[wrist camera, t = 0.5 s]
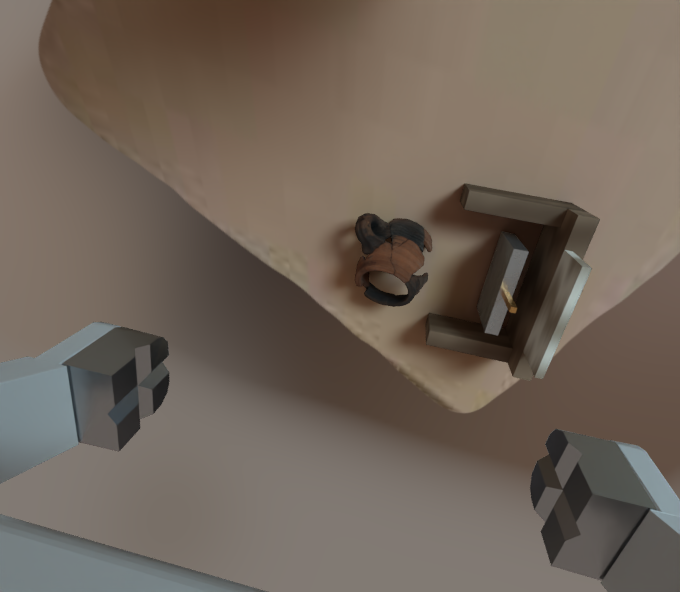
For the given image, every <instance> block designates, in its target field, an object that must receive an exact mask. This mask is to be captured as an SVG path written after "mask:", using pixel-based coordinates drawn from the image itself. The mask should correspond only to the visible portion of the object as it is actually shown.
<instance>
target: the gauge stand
mask: <svg viewBox="0 0 680 592" xmlns="http://www.w3.org/2000/svg"><path fill="white" fill-rule="evenodd" d="M460 202H461V204H462V206H463V208H464V210H470V211H475V212H480V213H486V214H491V215H496V216H501V217H507V218H512V219H517V220H523V221H528V222H533V223H538V224H544V227H543V230H542V232H541V235H540V238H539V240H538V243H537V246H536V248H535V251H534V254H533V256H532V259H531V262H530V264H529V267H528V270H527V272H526V275H525V278H524V280H523V283H522V286H521V288H520V291H519V294H518V296H517V299H516V302H515V304H516V306H517V311H516V313H511V315H510V318H509V321H508V323H507V326H506V329H502V328H501V329H500V332H499V334H498V335H493V334H488V333H484V329H483V326H482V324H479V323H474V322H469V321H465V320H460V319H455V318H451V317H446V316H441V315H437V314H432V313H429V315H428V319H427V322H426V326H425V327H426V345H431V346H435V347H440V348H444V349H449V350H453V351H458V352H462V353H467V354H471V355H476V356H480V357H485V358H489V359H494V360H498V361H502V362H507V363H508V365H509V367H510V370H511V373H512V376H513V377H516V378H520V379H525V380H529V381H531V379H532V376H533V375H534V377H536V378H541V379H543V377H544V375H545V373H546V370H547V368H548V366H549V364H550V361H551V359H552V357H553V355H554V353H555V350H556V348H557V346H558V344H559V341H560V339H561V337H562V335H563V332H564V330H565V328H566V326H567V323H568V321H569V319H570V317H571V314H572V312H573V310H574V308H575V305H576V303H577V301H578V299H579V296H580V294H581V292H582V290H583V287H584V285H585V283H586V281H587V278H588V276H589V274H590V272H591V269H592V268H591V267H590V266H589V265H588V264H586V263H585V262H584V261H583V258H584V255H585V253H586V251H587V249H588V246H589V244H590V242H591V239H592V237H593V235H594V232H595V230H596V228H597V225H598V223H599V221H600V219H599V218H597V217H595V216H594V215H592V214H590V213H588V212H587V211H585V210H583V209H581V208H580V207H578V206H576V205H574V204H572V203H568V202H563V201H558V200H552V199H547V198H541V197H536V196H530V195H525V194H519V193H514V192H508V191H503V190H497V189H492V188H487V187H481V186H476V185H470V184H465V185H464V188H463V192H462V196H461V199H460Z"/></svg>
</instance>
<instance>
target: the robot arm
mask: <svg viewBox="0 0 680 592" xmlns="http://www.w3.org/2000/svg"><path fill="white" fill-rule="evenodd" d="M168 355H169V351H168V342H167V341H166V340H165V339H164V338H163V337H160V336H156V335H153V334H149V333H145V332H141V331H137V330H133V329H129V328H125V327H120V326H117V325H113V324H108V323H104V322H93V323H92V324H90V325H88V326H87V327H85V328H83V329H82V330H80V331H78V332H77V333H75V334H74V335H72V336H70V337H69V338H67V339H65V340H64V341H62V342H61V343H59V344H57V345H56V346H54V347H52V348H51V349H49V350H47V351H46V352H44V353H43V354H41V355H39V356H38V357H36V358H32V357H23V358H20V359H15V360H10V361H6V362H2V363H0V484H1V483H3V482H5V481H7V480H9V479H11V478H13V477H15V476H17V475H19V474H20V473H23V472H25V471H27V470H29V469H31V468H33V467H35V466H36V465H39V464H41V463H42V462H45V461H47V460H49V459H51V458H53V457H55V456H57V455H59V454H61V453H62V452H65V451H67V450H69V449H71V448H73V447H75V446H77V445H78V444H79V443H78V442H80V443H85V444H89V445H93V446H97V447H101V448H106V449H110V450H115V451H120V450H121V449H122V448H123V447H124V446H125V445H126V443H127V442H128V441H129V440H130V439H131V438H132V437H133V436H134V434H136V432H137V431H138V430H139V429H140V419H142V418H145V417H147V416H150V415H152V414H154V413H155V411H156V410H157V409H158V408H159V407H160V406H161V404H162V402H163V400H164V398H165V396H166V394H167V391H168V386H169V371H168V370H167V368H166V367H165V365H164V364H163V361H164V359H166V358H167V357H168ZM545 445H546V447H547V450H548V453H549V455H547V456H545V457H543V458H542V459H540V460H538V461H537V463H536V465H535V468H534V470H533V472H532V477H531V485H530V491H531V499H532V503H533V506H534V510H535V511H536V512H537V514H538V515H539V516H540V517H541V518H542V519H543V520H544V521H545V525H544V526H543V528H542V530H541V533H542V537H543V540H544V544H545V547H546V550H547V553H548V557H549V560H550V563H551V566H553V567H557V568H561V569H564V570H567V571H570V572H574V573H577V574H581V575H585V576H587V577H591V578H594V579H598V580H601V581H602V582H601V584H602V585H603V586H604V588H605V589H606V590H607V591H608V592H680V500H679V498H678V497H677V495H676V494H675V493H674V491H673V490H672V488H671V487H670V485H669V484H668V483H667V481H666V480H665V478H664V477H663V475H662V474H661V473H660V471H659V470H658V468H657V467H656V465H655V464H654V462H653V461H652V460H651V458H650V457H649V455H648V454H647V452H646V451H645V450H643V449H642V448H640V447H639V446H636V445H631V444H626V443H621V442H616V441H611V440H610V441H608V440H604V439H599V438H595V437H590V436H586V435H581V434H577V433H572V432H567V431H563V430H558V429H555V430H554V431H553V432H552V433H551V434H550V435H549V437H548V440H547V441H546V444H545ZM0 592H267V591H263V590H260V589H257V588H253V587H249V586H246V585H243V584H239V583H236V582H233V581H229V580H226V579H222V578H219V577H215V576H212V575H209V574H205V573H201V572H198V571H195V570H191V569H188V568H184V567H181V566H178V565H174V564H171V563H167V562H164V561H160V560H157V559H153V558H150V557H147V556H143V555H140V554H136V553H133V552H129V551H126V550H122V549H119V548H116V547H112V546H109V545H105V544H102V543H98V542H94V541H91V540H88V539H84V538H80V537H78V536H74V535H70V534H67V533H64V532H60V531H57V530H53V529H50V528H46V527H43V526H40V525H36V524H32V523H29V522H25V521H22V520H19V519H15V518H12V517H8V516H5V515H2V514H0Z"/></svg>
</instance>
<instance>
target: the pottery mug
mask: <svg viewBox="0 0 680 592" xmlns="http://www.w3.org/2000/svg"><path fill="white" fill-rule="evenodd" d="M355 232H356V235H357V238H358V240H359V241H360V242H361V244H362V252H363V253H364V254H369V255H368V256H367V258H366V259H365V257H364V256H362V257H361V258H360V260H359V262H358V264H357V269H356V275H355V282H356V285H357V286H362V285H363V286H364V287H365V288H366V291H365V293H364V295H365V296H366V297H367V298H369V299H370V300H372V301H374V302H377V303H379V304H382V305H388V306H393V307H394V306H403V305H406V304H408V303H410V301H411V300H412V299H413V298H414V296H415V295H416V294H418V293H419V290H420V289H421V288H422V287H423V285H424V284H425V283H426V282H427V280H428V273H424V274H423V275H422V276H421V275H420V276H416V275H412V274H413V273H415V272H416V271H417V270H419V269H420V268H421V267H422V266H423V265H424V256H423V254H422V252H423V249H424V246H425V247H426V249H427V251H428V252H431V251H432V239H431V236H430V235H429V233H428V232H427V231H426V230H425V229H424V228H423V227H422V226H421V225H419V224H418V223H416V222H413V221H411V220H408V219H400V218H399V219H393V221H392V222H390V223H387V222H384V221H383V220H382V219H380V218H379V217H378V216H377V215H375V214H370V213H366V214H363V215H362V216H359V217H358V220H357V222H356V226H355ZM389 237H391V241H392V243H389V242H385V239H387V238H389ZM368 271H383V272H387V273H390V274H393V275H394V276H396V277H398V278H399V279H400V280H401V281H403V282H404V283H405V285H406V286H407V288H408V294H407V295H394V294H390V293H386V292H383V291H380V290H379V289H377V288H376V287H375V286H374V285H372V284H371V283H370V282H369V273H368Z"/></svg>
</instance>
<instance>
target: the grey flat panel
mask: <svg viewBox="0 0 680 592" xmlns="http://www.w3.org/2000/svg"><path fill="white" fill-rule="evenodd" d="M528 253H529V251H528V250H527V249H526V248H525V246H524V245H523V244H522V243H521V241H520V240H519V239H518V238H517V236H516V235H515V234H512V233H507V232H502V231H501V234H500V237H499V240H498V243H497V247H496V250H495V253H494V256H493V259H492V262H491V265H490V268H489V271H488V274H487V277H486V280H485V283H484V286H483V289H482V292H481V295H480V298H479V301H478V304H477V309H478V313H479V316H480V319H481V323H482V326H483V329H484V333H488V334H493V335H498V334H499V332H500V329H501V326H502V323H503V321H504V318H505V315H506V313H507V310H508V311H509V312H511V313H516V311H517V306H516V304H515V302H514V300H513V298H512V296H513V293H514V291H515V288H516V285H517V283H518V280H519V277H520V274H521V272H522V269H523V266H524V264H525V261H526V258H527V255H528Z"/></svg>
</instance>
